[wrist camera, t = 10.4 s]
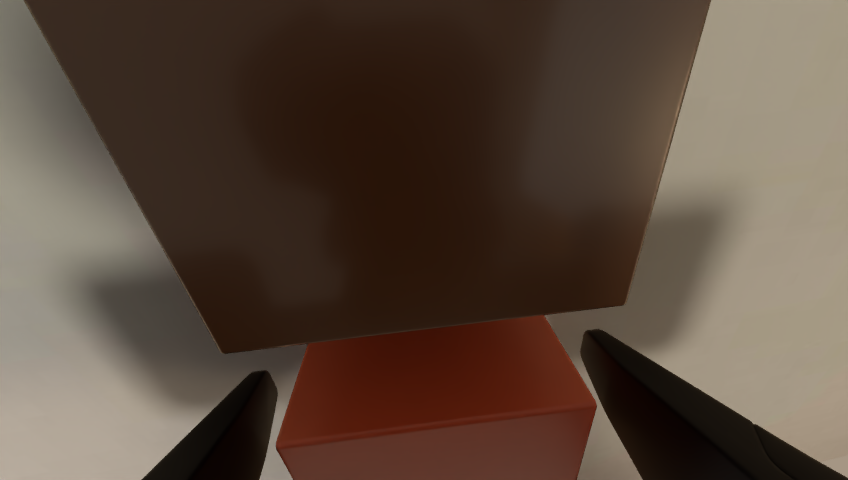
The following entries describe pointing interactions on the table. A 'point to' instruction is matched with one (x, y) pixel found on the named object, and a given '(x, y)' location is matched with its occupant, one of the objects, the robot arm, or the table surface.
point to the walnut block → (384, 151)
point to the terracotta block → (439, 406)
